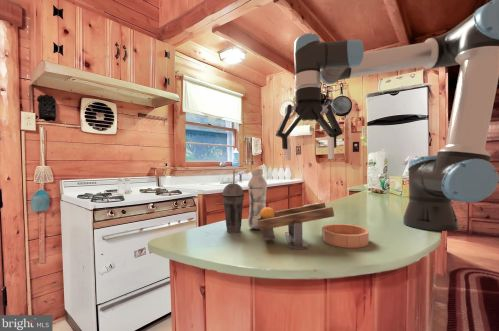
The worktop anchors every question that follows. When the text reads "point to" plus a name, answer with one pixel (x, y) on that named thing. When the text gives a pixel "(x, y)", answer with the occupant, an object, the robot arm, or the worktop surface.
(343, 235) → the bowl
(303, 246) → the stand
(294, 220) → the trough
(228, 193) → the beverage cup
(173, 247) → the worktop surface
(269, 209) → the ball
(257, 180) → the plastic bottle
